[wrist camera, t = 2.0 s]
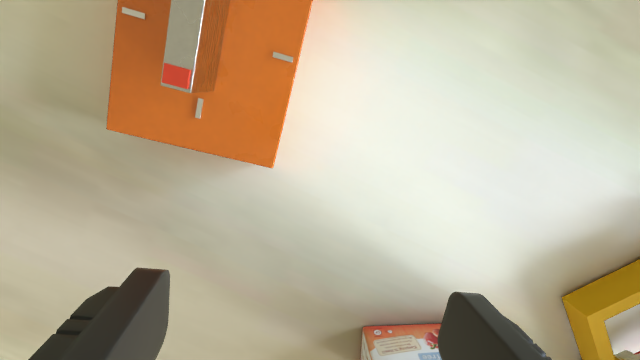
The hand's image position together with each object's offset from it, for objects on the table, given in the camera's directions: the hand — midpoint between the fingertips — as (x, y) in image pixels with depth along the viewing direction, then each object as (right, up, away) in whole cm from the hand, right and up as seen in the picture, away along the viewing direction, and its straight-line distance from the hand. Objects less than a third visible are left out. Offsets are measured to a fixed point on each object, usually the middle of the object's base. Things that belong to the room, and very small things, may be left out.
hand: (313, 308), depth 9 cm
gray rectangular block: (-7, +13, +12) cm, 19 cm away
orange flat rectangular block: (-7, +14, +15) cm, 22 cm away
